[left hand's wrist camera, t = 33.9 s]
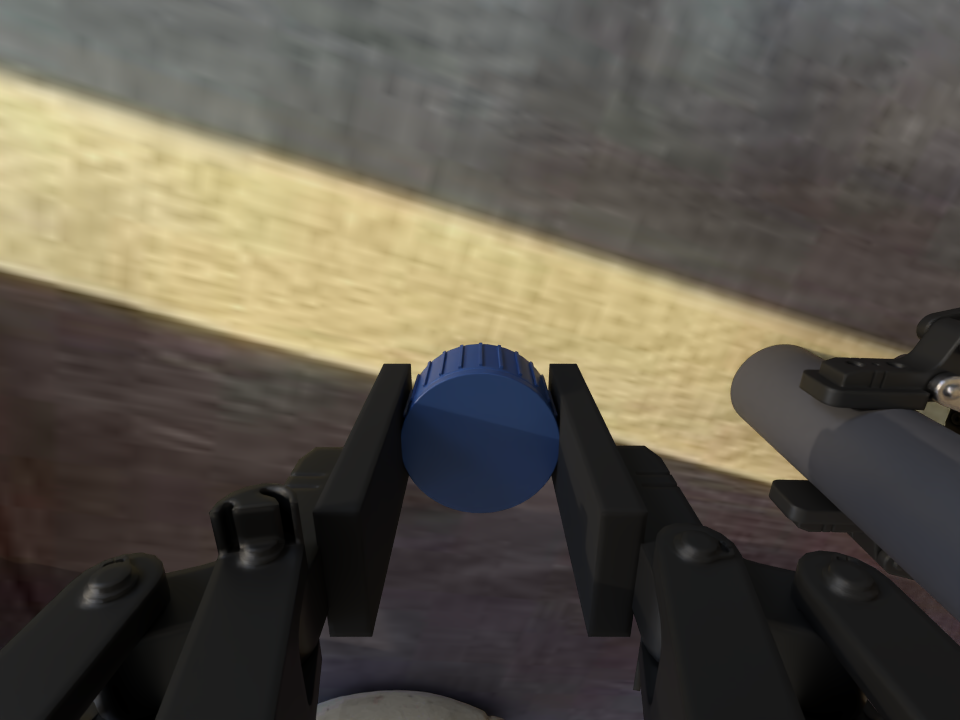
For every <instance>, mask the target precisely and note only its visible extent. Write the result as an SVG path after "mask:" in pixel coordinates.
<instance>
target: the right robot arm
mask: <svg viewBox="0 0 960 720" xmlns="http://www.w3.org/2000/svg"><path fill="white" fill-rule="evenodd" d="M916 333H917V336H918V338H919V339H921V340H920V341H919V342H918V344H917V345H916V346H915V348H914V349H913V350H912V351H911V352H910V353H908V354H903V355H900V356H898V357H896V358H895V359H875V358H841V357H835V358H832V359H829V360H826V361H822V363H821V367H820V370H815V369H807V370H804V371H803V375H802V378H801V382H800V385H799V387H800V388H801V389H802V390H803V391H805V392H806V393H808V394H809V395H811V396H812V397H814V398H815V399H817V400H818V401H820V402H821V403H823V404H826V405H828V406H832V407H838V408H867V409H906V410H924V409H925V406H926V404H927V401H928V402H937V403H939V404H941V405H943V406H946V407H948V408H951V410H950V412H949V415H948V417H947V420H946V423H945V427H946V428H948V429H950V430H952V431H954V432H955V433H957V434H959V435H960V308H956V309H951V310H946V311H941V312H937V313H932V314H929V315H927V316H926V317H924V318H923V319H922V320H921V321H920V322H919V324H918V326H917V330H916ZM769 497H770V499H771V500H772V501H773V502H774V503H775V504H776V506H777V507H778V508H779V509H780V510H781V511H782V512H783V513H784V515H785V516H786V517H787V518H789V519H790V520H792V521H793V522H794V523H795V525H796V526H797V527H798V528H801V529H803V530H806V531H808V532H821V531H823V532H830V531H831V532H847V533H848V534H849V535H850V536H851V537H852V538H853V539H854V540H855V541H856V542H857V543H858V544H859V545H860V546H861V547H862V548H863V549H864V550H865V551H866V552H867V553H868V554H869V555H870V556H871V557H872V558H873V559H874V560H875V561H876V562H877V563H878V564H879V565H880V566H881V567H882V568H883V569H884V570H885V571H886V572H887V573H889V574H892V575H896V576H900V577H904V578H908V579H912V580H914V579H913V578H912V577H911V576H910V575H909V574H908V573H907V572H906V571H905V570H904V569H903V568H901V567H900V566H899V565H898V564H897V563H896V562H895V561H894V560H893V559H892V558H891V557H890V556H889V555H888V554H887V553H885V552H884V551H883V550H882V549H881V548H880V547H879V546H878V545H877V544H876V543H875V542H874V541H873V540H872V539H871V538H869V537H868V536H867V535H866V534H865V533H864V532H863V531H862V530H861V529H860V528H859V527H858V526H857V525H856V524H855V523H853V522H852V521H851V520H850V519H849V518H848V517H847V516H846V515H845V514H844V513H843V512H842V511H841V510H840V509H839V508H837V507H836V506H835V505H834V504H833V503H832V502H831V501H830V500H829V499H828V498H827V497H826V496H825V495H824V494H823V493H821V492H820V491H819V490H818V489H817V488H816V487H815V486H814V485H813V484H812V483H811V482H810V481H809V480H774V481H773V483H772V486H771V490H770V493H769Z"/></svg>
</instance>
